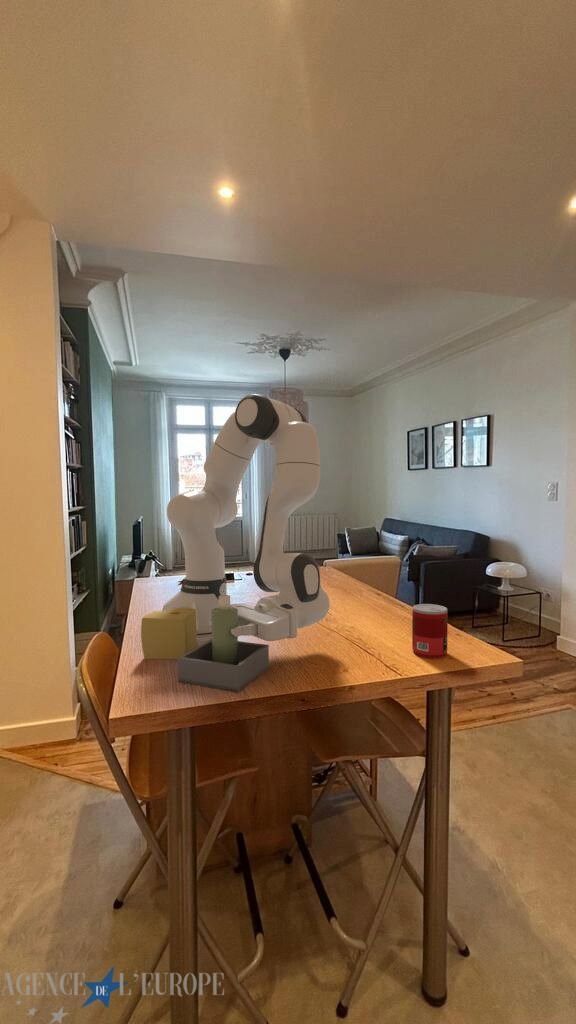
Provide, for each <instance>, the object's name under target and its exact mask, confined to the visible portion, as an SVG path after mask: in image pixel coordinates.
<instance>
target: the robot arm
mask: <svg viewBox="0 0 576 1024" xmlns="http://www.w3.org/2000/svg"><path fill="white" fill-rule="evenodd" d="M262 443H266V444H271V445H273V446H274V449H275V466H274V467H275V468H274V469H275V470H274V477H273V478H274V479H273V483H272V487H271V490H270V493H269V494H268V497H267V499H266V503H265V507H264V514H263V521H262V528H261V533H260V535H261V536H260V541H259V548H258V553H257V555H256V558H255V561H254V565H253V570H252V571H253V572H252V573H253V579H254V582H255V584H256V585H257V587H258V588H259V589H260V590H262V591H263V592H266V593H278V594H275V595H271V596H270V595H268V596H265V597H262V598H260V599H259V600H258V601H257V602H256V604H255V606H254V605H250V604H247V603H240V602H239V603H230V607H233V608H236V609H238V626H234V627H232V628H231V635H233V636H235V637H238V638H239V637H244V636H248V637H249V636H250V637H251V636H253V637H255V638H257V639H261V640H264V641H266V642H276V641H280V640H281V641H282V640H284V639H295V638H297V637H298V629H303V628H307V627H309V626H312V625H315V624H317V623H319V622H320V621H322V620H323V619H324V618H325V617H326V616H327V614H328V613H329V611H330V606H331V605H330V604H331V603H330V602H331V601H330V598H329V595H328V593H327V592H326V591H325V589H324V588H323V587H322V585H321V576H320V575H321V574H320V568H319V564H318V562H317V561H316V559H315V558H314V557H313V556H312V555H311V554H310V553H309V554H308V553H298V552H296V553H295V552H293V553H291V552H289V553H288V552H287V553H286V552H285V551H284V545H285V535H286V530H287V529H286V528H287V523H288V520H289V517H290V516H291V515H292V514H293V512H295V510H297V509H298V508H299V507H301V506H302V505H304V504H306V503H308V502H309V501H310V500H311V499H312V498H314V496H315V495H316V493H317V492H318V489H319V487H320V486H319V485H320V481H321V455H320V454H321V453H320V443H319V437H318V433H317V430H316V428H315V427H314V426H313V425H312V424H310V423H308V420H307V418H306V417H305V415H303V412H301V411H300V410H298V409H297V408H294V407H292V406H290V405H289V404H287V403H285V402H283V401H281V400H276V399H273V398H269V397H267V396H265V395H263V394H258V393H257V394H256V393H251V394H248V395H245V396H244V397H242V398H241V399H240V400H239V402H238V404H236V408H235V411H234V412H233V413H231V414H230V416H229V417H228V418H227V420H226V421H225V423H224V424H223V425H222V427H221V429H220V431H219V432H218V434H217V436H216V438H215V440H214V442H213V444H212V446H211V448H210V451H209V453H208V454H207V458H206V459H205V461H204V464H203V470H204V473H205V482H204V485H203V488H202V489H201V490H196V491H194V490H188V491H185V492H182V493H178V494H176V495H174V496H173V497H172V498H171V499H170V500H169V502H168V504H167V507H166V517H167V519H168V522H169V523H170V525H171V526H172V527H173V528H175V530H176V531H177V532H178V535H179V537H180V540H181V543H182V546H183V551H184V564H185V565H184V567H185V568H184V569H185V577H184V578H183V579H181V580H179V581H177V583H178V584H177V586H181V587H180V591H178V592H177V593H176V594H175V595H174V596H172V598H170V599H169V600H167V601H166V602H165V603H164V604H163V605H162V609H161V611H165V610H168V609H171V608H190V609H196V627H197V635H199V634H210V633H211V634H212V615H211V611H212V609H215V608H219V596H220V595H227V593H228V592H227V577H226V572H225V571H226V570H225V569H226V568H225V567H226V566H225V563H226V562H225V550H224V548H223V546H222V545H220V543H219V541H218V539H217V536H216V532H215V529H219V528H222V527H224V526H227V525H229V524H231V523H232V522H233V521H234V520H235V519H236V517H237V515H238V510H239V509H238V507H239V506H238V502H237V497H238V491H239V487H240V484H241V481H242V480H243V477H244V476H245V475H244V474H245V473H246V471H247V469H248V466H249V465H250V464H251V463H250V462H251V461H252V458H253V457H254V454H255V452H256V450H257V448H258V446H259V445H261V444H262ZM284 552H285V553H284Z"/></svg>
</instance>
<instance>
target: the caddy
mask: <svg viewBox="0 0 576 1024" xmlns="http://www.w3.org/2000/svg"><path fill="white" fill-rule="evenodd" d="M269 647H270V646H269V644H263V643H255V642H248V641H240V640H238V665H232V664H225V663H219V662H212V638H211V639H209V640H207V641H206V642H203V643H202V644H200V645H198V646H196V647H195V648H194V649H193V650H191V651H189V652H188V653H186V654H184V655H182V656H180V657H179V658H178V660H177V681H178V683H183V684H187V683H188V684H187V685H193V684H195V685H194V686H198V685H200V686H199V687H204V686H205V687H204V688H210V689H216V690H221V691H222V690H223V691H228V692H234V693H240V692H242V691H243V689H245V688H246V687H247V686H248V685H249V684H251V683H252V682H253V681H254V680H256V679H257V678H258V677H259V676H260V675H262V674H263V673H264V672H265V671H266V670H267V669H269V668H270V662H269V660H270V658H269V657H270V655H269V654H270V650H269V649H270V648H269Z"/></svg>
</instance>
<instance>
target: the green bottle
mask: <svg viewBox="0 0 576 1024" xmlns="http://www.w3.org/2000/svg"><path fill="white" fill-rule="evenodd" d="M230 604H231V595H230V594H226V595H220V596H219V608H215V609H212V611H211V615H212V632H211V639H212V662H219V663H225V664H232V665H238V641H239V636H238V637H235V636H233V635H231V628H232V627H234V626H238V609H236V608H233V607H230Z"/></svg>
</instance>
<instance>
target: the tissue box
mask: <svg viewBox="0 0 576 1024" xmlns="http://www.w3.org/2000/svg"><path fill="white" fill-rule="evenodd" d="M140 623H141V625H140V626H141V627H140V639H141V648H142V654H143V659H144V660H162V661H163V660H167V661H168V660H169V661H170V660H172V661H174V660H176V661H178V658H179V657H180V656H182V655H184V654H186V653H188V652H189V651H191V650H193V649H195V648H197V641H198V640H197V639H198V638H197V635H198V634H197V627H196V609H190V608H171V609H168V610H165V611H162V610H155V611H152V612H150V613H147V614H145V615H144V616H143V617H141V622H140Z"/></svg>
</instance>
